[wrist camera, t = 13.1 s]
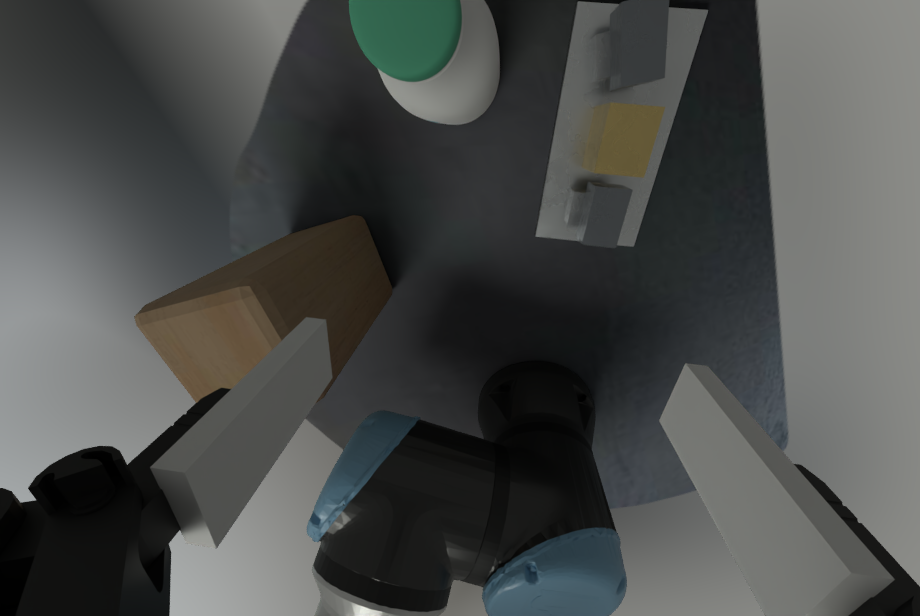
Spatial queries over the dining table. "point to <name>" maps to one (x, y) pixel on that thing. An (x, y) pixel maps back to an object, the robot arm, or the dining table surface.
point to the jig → (618, 81)
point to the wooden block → (270, 305)
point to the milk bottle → (432, 54)
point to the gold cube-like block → (622, 138)
